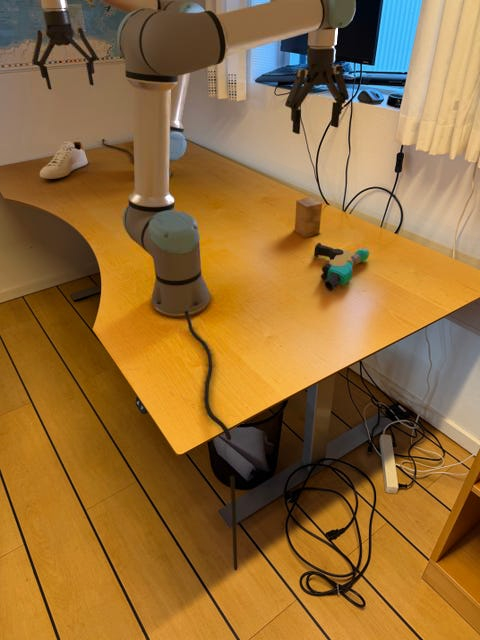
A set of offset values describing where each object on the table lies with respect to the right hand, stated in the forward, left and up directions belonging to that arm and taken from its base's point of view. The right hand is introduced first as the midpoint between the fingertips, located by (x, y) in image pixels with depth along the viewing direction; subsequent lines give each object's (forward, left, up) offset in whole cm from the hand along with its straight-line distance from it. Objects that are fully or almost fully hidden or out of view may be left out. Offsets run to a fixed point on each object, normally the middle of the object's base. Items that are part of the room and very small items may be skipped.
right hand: (315, 129), depth 140 cm
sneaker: (+55, +105, -33) cm, 123 cm away
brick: (0, 0, -33) cm, 33 cm away
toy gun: (-26, -6, -33) cm, 42 cm away
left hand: (+20, +80, +8) cm, 83 cm away
